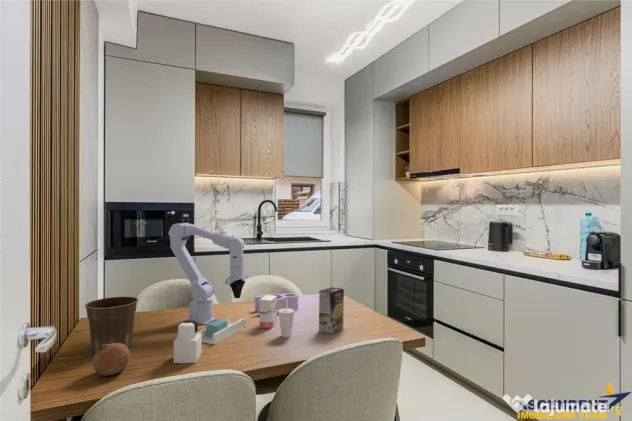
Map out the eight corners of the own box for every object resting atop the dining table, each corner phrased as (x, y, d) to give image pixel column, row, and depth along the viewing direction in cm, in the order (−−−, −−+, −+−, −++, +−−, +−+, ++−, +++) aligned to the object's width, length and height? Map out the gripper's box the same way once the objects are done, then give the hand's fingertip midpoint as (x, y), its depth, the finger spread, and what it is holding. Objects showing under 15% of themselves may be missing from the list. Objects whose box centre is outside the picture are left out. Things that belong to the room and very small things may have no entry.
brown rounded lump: (96, 387, 101) (78, 359, 99) (119, 364, 110) (102, 338, 108) (121, 380, 98) (103, 351, 96) (142, 357, 107) (126, 330, 105)
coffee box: (331, 334, 136) (332, 293, 135) (318, 330, 139) (318, 290, 139) (344, 327, 143) (344, 288, 143) (330, 324, 147) (331, 286, 147)
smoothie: (297, 333, 136) (297, 298, 136) (290, 339, 130) (290, 302, 130) (282, 331, 138) (282, 296, 138) (275, 337, 132) (275, 300, 132)
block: (216, 331, 136) (216, 319, 136) (227, 332, 134) (227, 321, 134) (206, 336, 130) (206, 324, 130) (217, 338, 129) (217, 326, 128)
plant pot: (104, 338, 130) (104, 295, 130) (147, 339, 130) (147, 296, 130) (73, 357, 114) (72, 307, 114) (121, 357, 114) (121, 308, 114)
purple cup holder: (292, 305, 177) (292, 291, 177) (301, 311, 166) (301, 297, 166) (253, 309, 169) (253, 295, 169) (260, 317, 157) (260, 301, 157)
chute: (228, 324, 146) (228, 316, 146) (245, 326, 144) (245, 318, 144) (197, 341, 128) (197, 331, 128) (215, 344, 125) (215, 334, 125)
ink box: (270, 329, 141) (270, 300, 141) (259, 328, 142) (259, 299, 142) (277, 322, 149) (277, 295, 149) (266, 321, 150) (266, 294, 150)
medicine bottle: (179, 354, 116) (179, 318, 116) (201, 353, 117) (201, 318, 117) (172, 364, 109) (173, 325, 109) (196, 363, 110) (196, 325, 110)
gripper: (235, 269, 142) (235, 302, 142) (253, 264, 155) (254, 294, 155) (220, 268, 144) (221, 301, 144) (240, 263, 158) (240, 293, 158)
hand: (237, 297), depth 150 cm, fingers closed
